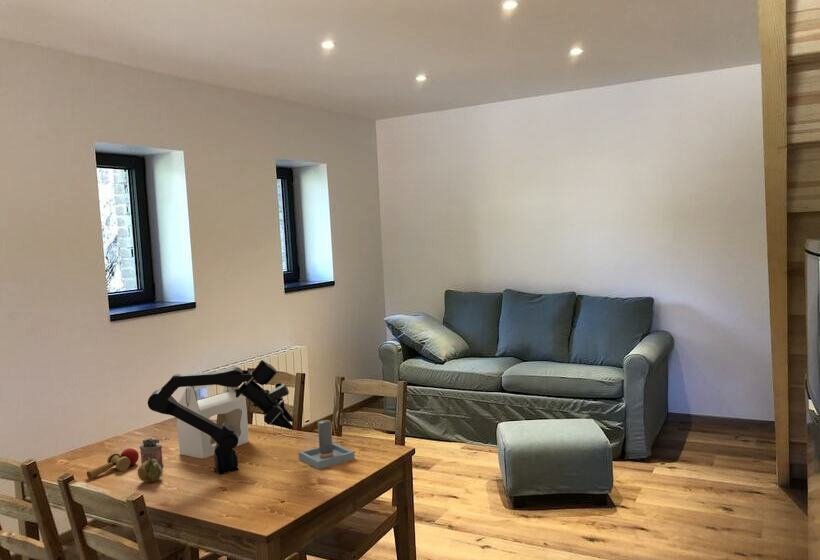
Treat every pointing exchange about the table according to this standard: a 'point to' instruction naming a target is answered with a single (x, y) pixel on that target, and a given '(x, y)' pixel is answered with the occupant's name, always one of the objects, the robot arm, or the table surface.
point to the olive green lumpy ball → (150, 471)
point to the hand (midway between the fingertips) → (292, 424)
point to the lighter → (151, 451)
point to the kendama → (116, 462)
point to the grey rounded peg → (325, 439)
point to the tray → (314, 458)
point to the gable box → (221, 404)
